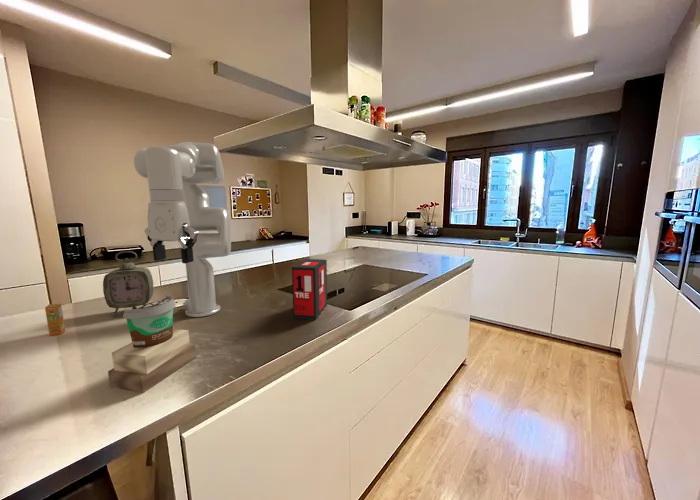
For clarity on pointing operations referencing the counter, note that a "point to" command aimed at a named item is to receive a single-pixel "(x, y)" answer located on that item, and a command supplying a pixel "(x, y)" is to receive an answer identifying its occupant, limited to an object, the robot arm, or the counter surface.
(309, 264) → the cleaning product box
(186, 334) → the tower top block
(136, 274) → the tabletop clock
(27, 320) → the counter surface
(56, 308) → the supplement box
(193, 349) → the tower base block
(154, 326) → the food container
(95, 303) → the counter surface
